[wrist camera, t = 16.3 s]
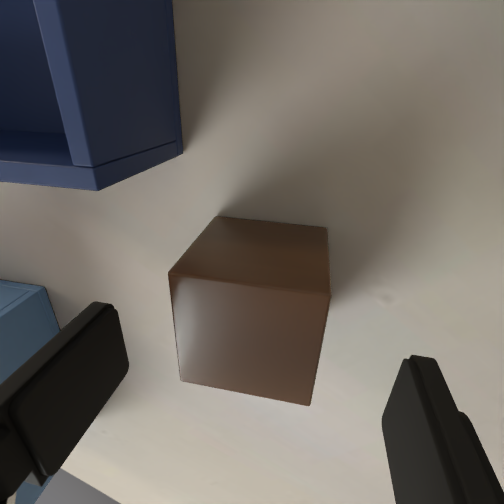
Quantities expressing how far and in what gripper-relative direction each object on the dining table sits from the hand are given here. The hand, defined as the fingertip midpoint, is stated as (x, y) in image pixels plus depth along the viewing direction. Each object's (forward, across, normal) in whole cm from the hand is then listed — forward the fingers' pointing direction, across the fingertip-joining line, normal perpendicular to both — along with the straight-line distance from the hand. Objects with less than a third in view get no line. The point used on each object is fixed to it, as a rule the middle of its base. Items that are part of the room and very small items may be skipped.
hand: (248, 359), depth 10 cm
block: (+5, 0, 0) cm, 5 cm away
